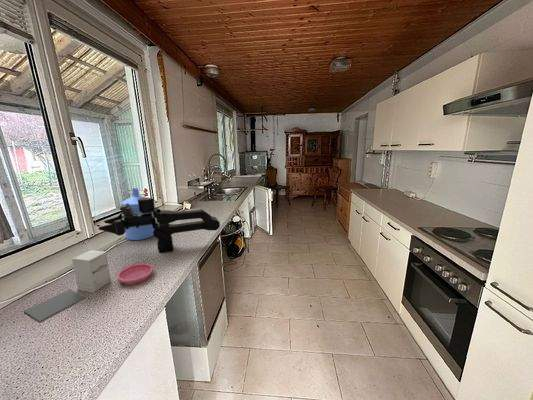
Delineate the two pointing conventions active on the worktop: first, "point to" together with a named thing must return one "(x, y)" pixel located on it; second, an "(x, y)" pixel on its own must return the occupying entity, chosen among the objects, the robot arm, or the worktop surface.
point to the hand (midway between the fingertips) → (101, 225)
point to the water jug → (145, 230)
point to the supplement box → (91, 270)
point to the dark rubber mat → (54, 305)
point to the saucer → (135, 274)
